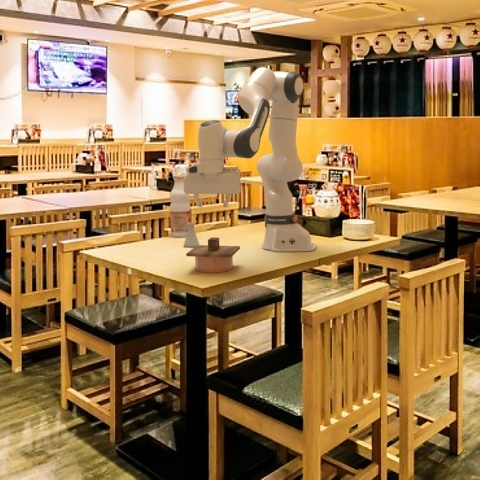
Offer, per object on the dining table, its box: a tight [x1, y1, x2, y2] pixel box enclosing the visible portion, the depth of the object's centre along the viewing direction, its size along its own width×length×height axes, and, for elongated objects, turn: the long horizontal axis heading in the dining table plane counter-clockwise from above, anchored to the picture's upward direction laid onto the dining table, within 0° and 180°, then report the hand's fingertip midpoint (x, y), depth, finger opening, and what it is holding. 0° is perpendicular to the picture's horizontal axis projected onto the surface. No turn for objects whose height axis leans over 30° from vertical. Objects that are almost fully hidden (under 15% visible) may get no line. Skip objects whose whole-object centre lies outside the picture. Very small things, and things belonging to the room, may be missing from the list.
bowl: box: [194, 255, 234, 274], centre depth 235 cm, size 13×13×6 cm
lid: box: [185, 236, 241, 258], centre depth 234 cm, size 16×16×5 cm
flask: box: [183, 222, 200, 248], centre depth 280 cm, size 7×7×10 cm
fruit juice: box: [169, 175, 192, 238], centre depth 305 cm, size 9×9×28 cm
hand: (212, 206), depth 232 cm, fingers open, 8 cm apart
